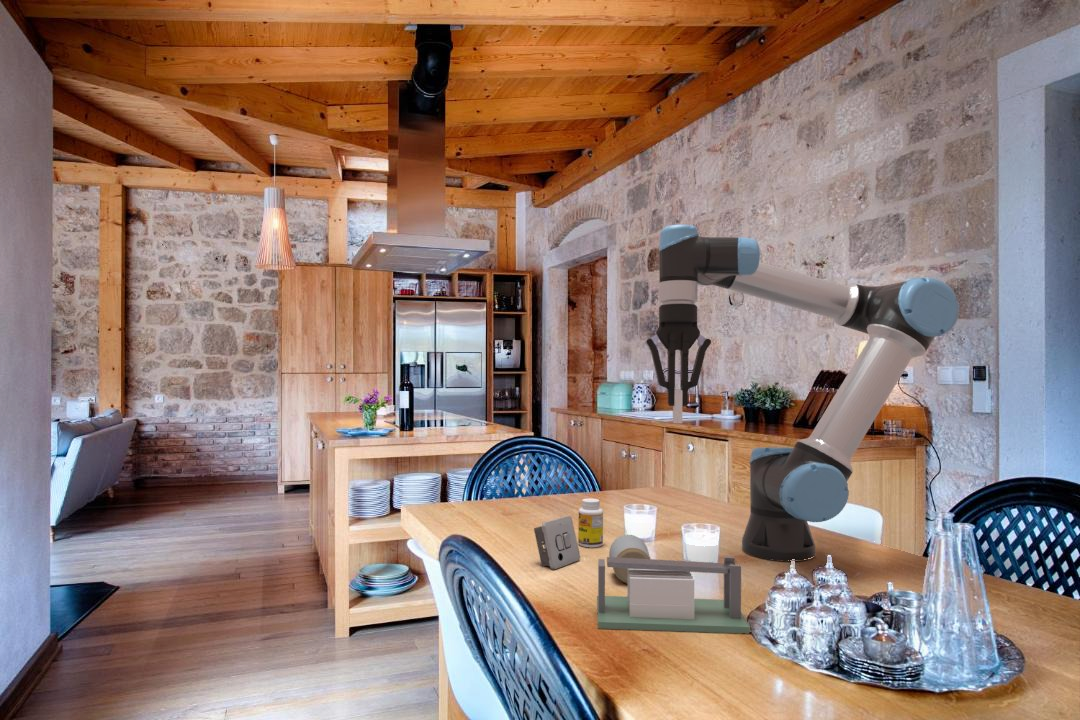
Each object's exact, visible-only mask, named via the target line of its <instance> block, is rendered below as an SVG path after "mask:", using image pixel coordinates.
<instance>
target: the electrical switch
mask: <svg viewBox="0 0 1080 720" xmlns="http://www.w3.org/2000/svg"><path fill="white" fill-rule="evenodd" d="M541 523H542V524H541V525H540V526H538V527H534V528H533V531H534V534H535V535H534V536H535V540H536V546H537V549H538V555H539V559H540V564H541V567H549V568H550V569H551V570H552V569H553V570H557V569H560V568H563V567H565V566H567V565H570V564H573V563H576V562H579V561H580V559H581V554H580V548H579V543H578V540H577V536H576V532H575V526H574V523H573V518H572V516H570V515H566V516H565V515H564V516H562V517H559V518H555V519H551V520H548V521H544V522H541Z"/></svg>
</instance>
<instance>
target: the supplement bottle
mask: <svg viewBox="0 0 1080 720" xmlns="http://www.w3.org/2000/svg"><path fill="white" fill-rule="evenodd" d="M581 501H582V502H581V507H579V508H578V533H577V534H578V540H577V543H578V545H580V546H581V547H584V548H588V547H589V548H590V549H591V548H592V549H594V548H600V547H601V546H602V545H603V544H604V509H602V508H601V505H600V502H601V501H600V500H599V499H597V498H592V497H591V498H590V497H589V498H584V499H582V500H581Z"/></svg>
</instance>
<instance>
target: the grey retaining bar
mask: <svg viewBox="0 0 1080 720" xmlns="http://www.w3.org/2000/svg"><path fill="white" fill-rule="evenodd" d="M606 564H607V565H606V566H607V568H613V567H614V568H632V569H650V570H669V571H687V572H690V573H707V574H708V573H709V574H723V575H724V574H730V565H736V563H735V564H734V562H732V561H729V562H727V563H724V562H710V561H709V562H706V561H690V560H689V561H688V560H674V559H673V560H672V559H671V560H670V559H636V558H618V557H609V556H607V557H606Z"/></svg>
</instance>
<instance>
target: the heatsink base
mask: <svg viewBox="0 0 1080 720" xmlns="http://www.w3.org/2000/svg"><path fill="white" fill-rule="evenodd" d="M735 559H736V558H735V556H723V563H727V562H729V561H732V562H734V564H735V565H730V574H723V599H715V598H714V599H713V598H712V599H708V598H695V579H694V577H693V576H692V572H687V571H669V570H650V569H632V568H628V584H627V592H626V593H627V594H626V596H624V595H623V596H620V595H619V596H618V595H606V563H605V562H606V561H605V559H604V558H598V561H597V563H598V566H597V567H598V568H597V571H598V572H597V573H598V574H597V575H598V578H597V579H598V580H597V581H598V582H597V584H598V586H597V587H598V589H597V596H596V598H597V599H596V604H597V605H596V606H597V607H596V608H597V609H596V610H597V629H600V630H601V629H604V630H606V629H607V630H629V629H630V630H632V631H633V630H634V631H635V630H636V631H658V632H660V631H661V632H667V631H668V632H684V631H685V632H689V633H692V632H693V633H714V634H716V633H718V634H720V633H721V634H742V633H745V634H746V635H747V634H748V635H749V629H750V628H751V626H750V624H749V623H748V621H747V619H746V617H745V616H744V614H743V613H742V566H741V564H736V560H735ZM630 630H629V631H630Z"/></svg>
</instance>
